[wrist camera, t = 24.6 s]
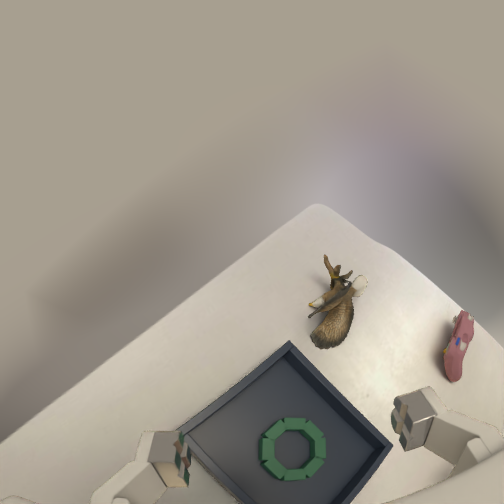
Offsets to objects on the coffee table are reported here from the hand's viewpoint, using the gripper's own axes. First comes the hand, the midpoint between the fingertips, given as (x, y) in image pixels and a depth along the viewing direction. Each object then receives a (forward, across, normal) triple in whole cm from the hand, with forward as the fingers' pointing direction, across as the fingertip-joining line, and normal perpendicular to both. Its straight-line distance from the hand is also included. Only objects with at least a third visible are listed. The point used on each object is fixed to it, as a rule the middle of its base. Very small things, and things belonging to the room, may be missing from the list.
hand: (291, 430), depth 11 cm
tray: (+12, 0, +17) cm, 21 cm away
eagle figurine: (+26, -7, +10) cm, 29 cm away
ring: (+11, 0, +17) cm, 20 cm away
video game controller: (+24, -26, +20) cm, 41 cm away
